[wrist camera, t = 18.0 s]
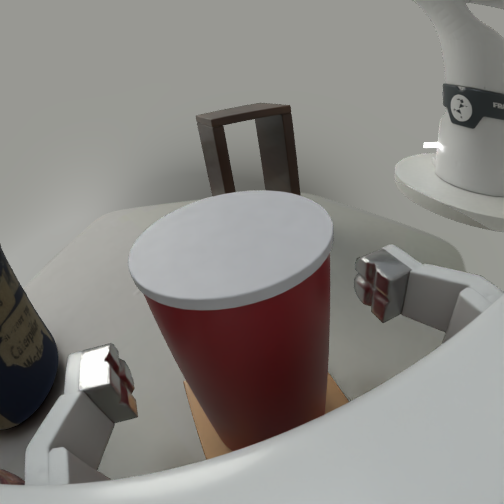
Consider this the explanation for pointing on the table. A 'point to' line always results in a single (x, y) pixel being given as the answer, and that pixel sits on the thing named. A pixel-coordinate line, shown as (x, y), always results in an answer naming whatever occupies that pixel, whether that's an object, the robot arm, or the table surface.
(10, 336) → the canister
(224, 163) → the brown wooden stand
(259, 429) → the tube
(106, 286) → the table surface
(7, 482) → the stone
